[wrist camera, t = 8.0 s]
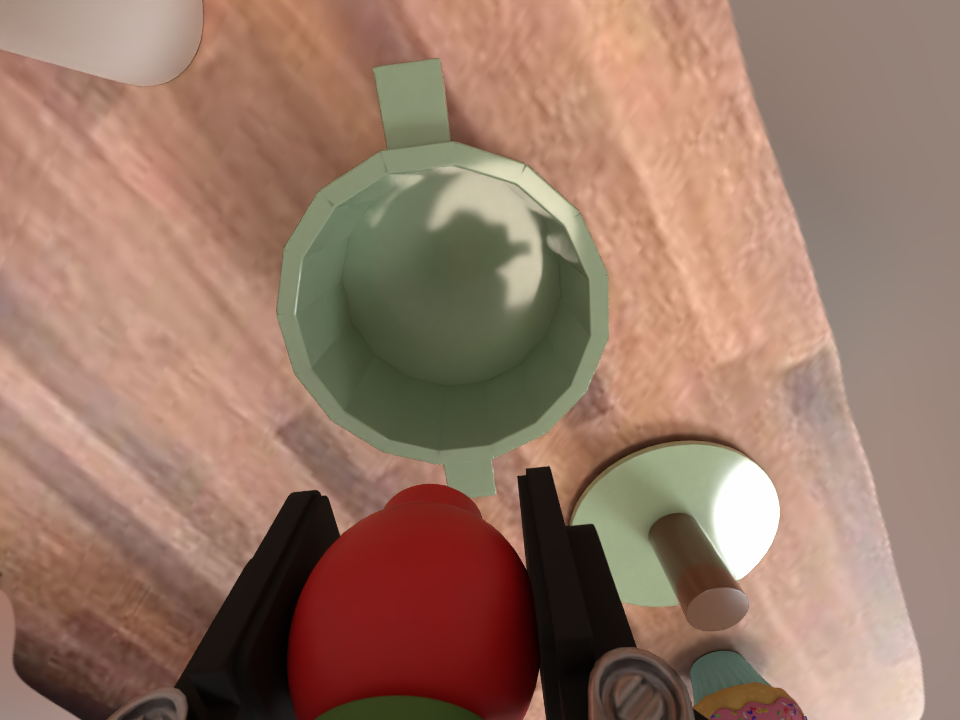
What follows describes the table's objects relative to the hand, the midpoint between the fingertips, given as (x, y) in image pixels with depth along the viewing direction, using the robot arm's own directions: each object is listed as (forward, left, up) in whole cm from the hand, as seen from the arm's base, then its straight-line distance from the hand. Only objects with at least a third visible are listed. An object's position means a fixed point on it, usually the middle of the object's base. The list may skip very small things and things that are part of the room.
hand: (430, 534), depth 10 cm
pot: (0, +2, -17) cm, 17 cm away
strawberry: (0, 0, 0) cm, 0 cm away
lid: (+13, -17, -17) cm, 27 cm away
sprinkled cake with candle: (+18, -34, -17) cm, 42 cm away
